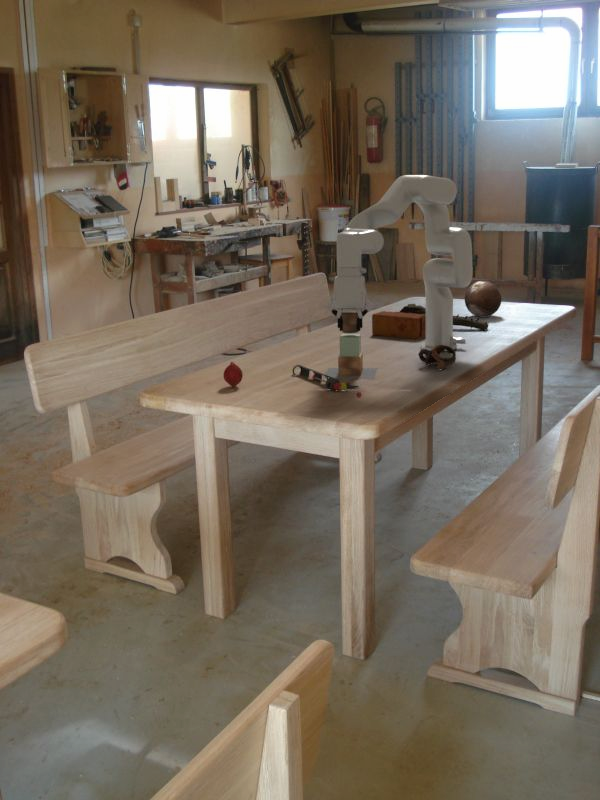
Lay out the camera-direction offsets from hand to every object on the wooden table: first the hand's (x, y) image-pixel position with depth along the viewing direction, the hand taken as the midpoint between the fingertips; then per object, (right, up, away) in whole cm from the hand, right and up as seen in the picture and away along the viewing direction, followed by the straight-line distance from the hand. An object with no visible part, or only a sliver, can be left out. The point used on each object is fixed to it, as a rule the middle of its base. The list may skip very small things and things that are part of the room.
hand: (350, 329), depth 295 cm
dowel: (0, -1, 0) cm, 1 cm away
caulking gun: (-6, -18, -10) cm, 22 cm away
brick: (+22, +2, +62) cm, 66 cm away
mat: (0, -14, +4) cm, 14 cm away
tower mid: (0, -8, +2) cm, 8 cm away
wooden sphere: (+60, +12, +95) cm, 113 cm away
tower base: (0, -13, +4) cm, 14 cm away
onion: (-36, -18, -8) cm, 41 cm away
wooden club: (+38, +5, +73) cm, 83 cm away
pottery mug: (+29, -12, +10) cm, 33 cm away
